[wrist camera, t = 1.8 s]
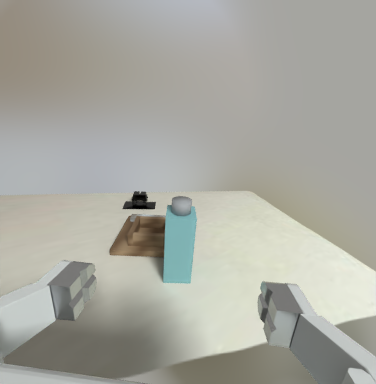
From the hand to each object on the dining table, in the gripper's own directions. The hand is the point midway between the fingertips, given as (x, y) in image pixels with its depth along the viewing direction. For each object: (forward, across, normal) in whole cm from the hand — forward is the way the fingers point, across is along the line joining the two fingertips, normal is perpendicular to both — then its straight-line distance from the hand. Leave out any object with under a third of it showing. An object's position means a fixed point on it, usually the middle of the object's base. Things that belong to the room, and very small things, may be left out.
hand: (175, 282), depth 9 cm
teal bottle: (+20, -2, -17) cm, 26 cm away
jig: (+30, -9, -16) cm, 36 cm away
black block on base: (+46, -17, -16) cm, 52 cm away
